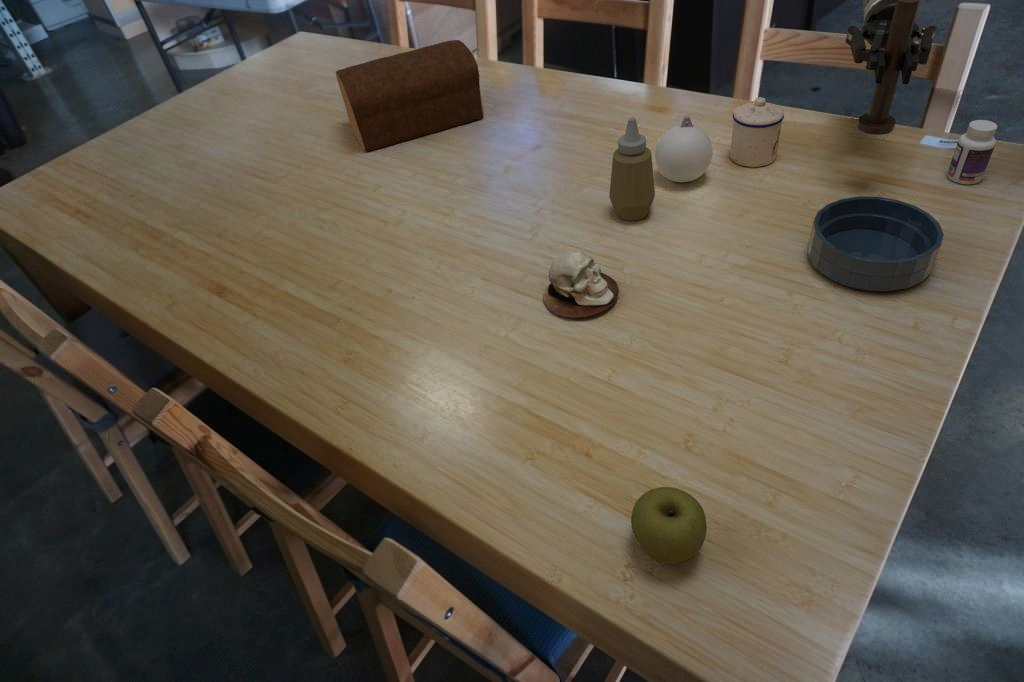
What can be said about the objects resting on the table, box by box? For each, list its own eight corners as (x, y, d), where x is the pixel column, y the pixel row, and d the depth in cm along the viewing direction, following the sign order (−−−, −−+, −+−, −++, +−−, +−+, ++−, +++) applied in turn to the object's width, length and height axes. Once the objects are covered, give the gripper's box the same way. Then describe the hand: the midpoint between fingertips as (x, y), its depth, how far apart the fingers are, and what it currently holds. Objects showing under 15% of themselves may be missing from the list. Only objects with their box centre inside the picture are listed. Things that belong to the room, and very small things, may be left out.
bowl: (958, 269, 100) (971, 236, 96) (865, 309, 97) (875, 277, 93) (868, 216, 113) (877, 185, 108) (783, 250, 109) (789, 219, 105)
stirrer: (901, 128, 111) (939, -2, 97) (875, 138, 109) (909, 8, 96) (875, 116, 114) (908, -10, 101) (849, 125, 113) (878, -1, 100)
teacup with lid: (782, 166, 127) (792, 107, 119) (733, 170, 128) (740, 112, 120) (767, 136, 136) (776, 80, 128) (721, 141, 137) (727, 85, 129)
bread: (350, 126, 165) (330, 60, 154) (464, 94, 170) (452, 28, 160) (365, 156, 152) (344, 86, 141) (487, 120, 158) (476, 51, 147)
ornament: (692, 159, 133) (696, 101, 125) (720, 182, 126) (726, 122, 118) (645, 173, 132) (646, 115, 123) (670, 197, 124) (673, 137, 116)
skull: (638, 280, 106) (612, 264, 97) (608, 338, 107) (580, 327, 99) (578, 253, 112) (549, 236, 104) (551, 308, 114) (520, 296, 105)
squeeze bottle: (608, 202, 125) (605, 110, 113) (651, 198, 125) (653, 105, 112) (611, 227, 120) (609, 132, 107) (657, 223, 119) (660, 127, 107)
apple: (680, 591, 70) (683, 556, 65) (616, 548, 74) (615, 512, 70) (717, 539, 74) (723, 503, 69) (654, 501, 78) (656, 464, 73)
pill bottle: (988, 176, 116) (1009, 124, 110) (970, 188, 115) (990, 135, 108) (957, 166, 120) (976, 114, 113) (939, 177, 118) (957, 125, 112)
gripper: (934, 41, 116) (947, 100, 101) (833, 41, 121) (831, 97, 106) (948, -5, 111) (964, 50, 96) (842, -3, 116) (841, 49, 101)
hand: (894, 75), depth 101 cm, fingers closed on stirrer, 3 cm apart
